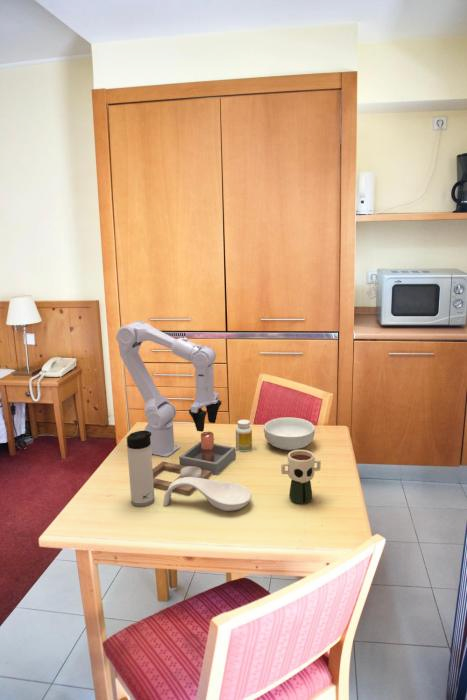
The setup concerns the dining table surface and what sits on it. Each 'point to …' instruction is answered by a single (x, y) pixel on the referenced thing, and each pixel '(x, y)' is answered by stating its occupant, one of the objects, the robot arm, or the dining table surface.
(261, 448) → the dining table surface
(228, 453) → the tray
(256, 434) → the dining table surface
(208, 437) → the reddish brown cylinder
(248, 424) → the supplement bottle
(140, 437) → the travel mug
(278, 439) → the cereal bowl
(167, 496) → the spoon rest
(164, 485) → the brown flat wooden frame
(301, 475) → the character mug
